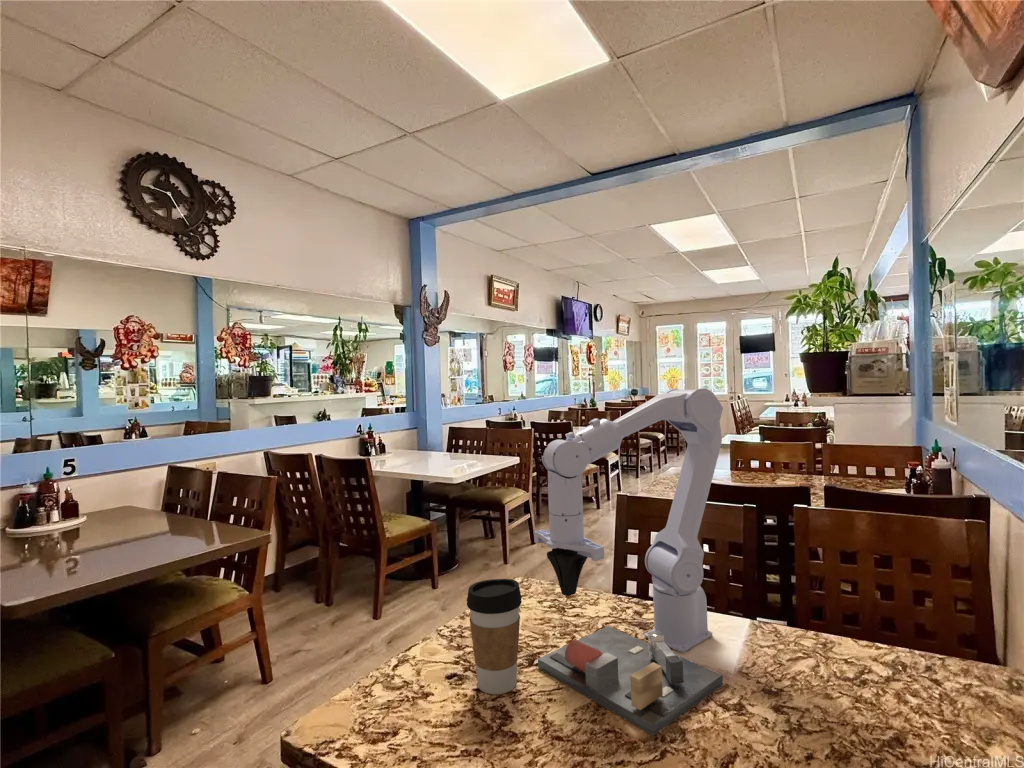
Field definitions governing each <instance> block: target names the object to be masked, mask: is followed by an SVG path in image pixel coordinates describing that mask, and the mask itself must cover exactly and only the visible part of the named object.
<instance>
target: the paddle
mask: <svg viewBox="0 0 1024 768" xmlns="http://www.w3.org/2000/svg"><path fill="white" fill-rule="evenodd" d="M630 679H631V706H633V707H635V708H637V709H639V710H641V709H643V708H644V707H646V706H647V705H649V704H650V703H652V702H653V701H655V700H656V699H658V698H659V697H661V696H663V689H662V666H660V665H658V664H656V663H654V662H653V663H651V664H649V665H648V666H646V667H644V668H642V669H641V670H639V671H637V672H635V673H634V674H632V675H630Z"/></svg>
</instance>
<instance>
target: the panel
mask: <svg viewBox="0 0 1024 768" xmlns="http://www.w3.org/2000/svg"><path fill="white" fill-rule="evenodd" d="M577 640H578V641H580V642H582V643H584V644H586V645H589V646H591V647H593V648H595V649H597V650H599V651H601V652H602V655H600V656H598V657H596V658H594V659H592V660H590V661H588V662H586V663H585V672H586V673H585V672H583V671H581V670H579V669H577V668H576V667H574V666H572V665H570V664H568V663H567V662H566V660H565V651H566V648H567V646H568V644H567V645H564V646H562V647H560V648H558V649H555V650H554V651H551V652H549V653H547V654H545V655H543V656H541V657H539V658H537V668H538V669H539V670H540V671H542V672H544V673H545V674H547V675H549V676H550V677H552V678H554V679H555V680H558V681H559V682H560V683H562V684H565V685H566V686H567V687H569V688H571V689H573V690H574V691H576V692H578V693H579V694H581V695H583V696H585V697H586V698H587V699H590V700H591V701H593V702H595V703H596V704H598V705H600V706H602V707H603V708H605V709H607V710H608V711H610V712H612V713H613V714H615V715H617V716H619V717H620V718H622V719H624V720H626V721H627V722H628V723H630V724H632V725H634V726H635V727H637V728H639V729H640V730H642V731H644V732H645V733H647V734H648V735H650V736H655V735H656V734H658V733H659V732H661V731H662V730H663V729H664V728H666V727H667V726H669V725H670V724H672V723H673V722H675V720H677V719H678V718H680V717H681V716H682V715H684V714H685V713H687V711H689V710H691V709H692V708H693V707H695V706H696V705H698V704H699V703H701V702H702V701H703V700H704V699H706V698H707V697H708V696H710V695H711V694H713V693H715V691H717V690H719V688H721V687H722V686H724V681H723V680H724V677H723V674H722V673H720V672H717V671H715V670H712V669H709V668H708V667H705V666H702V665H700V664H698V663H696V662H694V661H691V660H689V659H686V658H684V657H682V656H679V655H678V657H679V658H680V659H681V660H682V661H683V682H684V683H676V684H671V683H670V681H669V680H668V679H667V677H666V673H665V672H664V671H663V669H662V689H663V696H661V697H659V698H658V699H656V700H655V701H653V702H652V703H650V704H649V705H647V706H646V707H644V708H643V709H641V710H639V709H637V708H635V707H633V706H631V679H630V675H632V674H634V673H635V672H637V671H639V670H641V669H642V668H644V667H646V666H648V665H649V664H651V663H653V662H654V663H656V664H658V663H657V661H655V660H652V659H650V658H649V643H648V641H644V640H642V639H640V638H638V637H635V636H633V635H630V634H628V633H625V632H624V631H621V630H620V629H616V628H614V627H612V626H609V625H607V626H604V627H603V628H601V629H599V630H596V631H594V632H592V633H590V634H588V635H586V636H584V637H582V638H579V639H577ZM658 665H659V664H658Z"/></svg>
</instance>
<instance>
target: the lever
mask: <svg viewBox="0 0 1024 768" xmlns="http://www.w3.org/2000/svg"><path fill="white" fill-rule="evenodd" d="M648 632H649V631H648ZM647 639H648V641H647V643H649V658H650V659H652V660H655V661H657V663H658V664H659V665H660V666H662V669H663V671H664V672H665V673H666V677H667V679H668V680H669V681H670V683H671V684H676V683H684V682H683V661H682V660H681V659H680V658H679V657H678V656H679V655H678V654H675V653H674V652H673V650H672V648H670V647H668V646H667V645H666V643H665V642H664V634H663V633H662V632H659V631H651V632H649V633H648V638H647Z"/></svg>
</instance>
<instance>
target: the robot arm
mask: <svg viewBox="0 0 1024 768" xmlns="http://www.w3.org/2000/svg"><path fill="white" fill-rule="evenodd" d="M723 410H724V407H723V406H722V404H721V402H720V401H719V398H718V397H717V396H716V395H715V393H714V392H712V391H711V390H710V389H707V388H696V389H678V388H672V389H669V390H667V391H665V392H663V393H660V394H657V395H655V396H654V397H652V398H651V399H648V400H647V401H645V402H644V403H642V404H640V405H639V406H637V407H634V408H633V409H632V410H630V411H628V412H626V413H625V414H623V415H622V416H619V417H618V418H616V419H614V420H613V421H612V420H609V419H606V418H601V419H599V418H593V419H591V420H589V425H587V426H585V427H583V428H581V429H579V430H578V431H576V432H572V431H570V432H568V433H566V439H554V440H552V441H551V442H549V443H548V444H547V447H546V448H545V449H544V451H543V455H541V462H542V464H543V466H544V467H545V469H546V470H547V492H548V493H547V497H548V498H547V499H548V518H549V519H548V522H549V523H548V524H549V530H546V529H539V530H535V531H534V532H533V533H534V534H533V536H534V537H533V539H534V540H533V541H534V543H535V544H545V545H546V547H547V548H550V549H551V550H550V551H547V552H546V557H547V559H548V561H549V562H550V564H551V565H552V567H553V570H554V572H555V576H556V578H557V581H558V584H559V585H558V586H559V588H560V592H561V595H563V596H565V597H570V596H573V595H575V594H577V589H578V584H579V579H580V575H581V572H582V570H583V567H584V565H585V563H586V562H587V560H588V558H590V559H591V561H594V562H598V561H601V560H603V559H605V546H603V545H600V544H598V543H595V542H594V541H592V540H590V539H589V538H587V537H585V526H584V525H585V522H584V503H583V496H584V495H583V477H582V474H583V473H584V472H585V470H586V469H587V466H588V465H590V464H592V463H594V462H596V461H597V460H599V459H601V458H603V457H606V456H607V455H609V454H611V453H612V452H614V451H616V450H618V449H620V447H621V444H622V441H623V440H624V438H626V437H628V436H630V435H632V434H635V433H636V432H639V431H641V430H643V429H644V428H648V427H650V426H651V425H653V424H655V423H658V422H660V421H667V422H668V423H669V424H670V425H672V427H674V428H675V429H676V430H677V431H679V432H680V434H681V436H682V437H683V439H684V440H685V442H686V444H687V446H686V451H685V453H684V457H683V461H682V465H681V469H680V473H679V476H678V479H677V483H676V484H677V485H676V487H675V492H674V495H673V498H672V503H671V507H670V510H669V513H668V518H667V522H666V525H665V527H664V528H663V529H661V530H660V531H659V532H657V533H656V534H655V536H654V540H653V541H652V545H651V546H649V548H647V551H646V553H645V557H644V564H645V568H646V570H647V572H648V573H649V574H651V581H652V598H653V602H652V603H653V625H654V628H653V629H651V630H650V629H649V631H647V632H645V633H643V635H644V637H645V638H646V639H648V633H649V632H651V631H659V632H662V633H663V634H664V642H665V643H666V645H667V646H668V647H669V648H670V649H671V650H672V649H673V650H675V651H678V652H680V653H685V652H687V651H688V650H689V649H691V648H693V647H695V646H697V645H698V644H700V643H702V642H704V641H705V640H707V639H708V638H711V636H713V632H712V631H711V630H709V628H708V627H709V626H708V610H707V609H708V606H707V602H708V601H707V595H706V593H705V591H704V589H703V587H702V586H701V584H702V583H703V580H704V579H703V578H704V574H705V573H704V568H703V567H704V566H703V561H704V555H705V552H704V550H703V548H702V546H701V543H700V542H699V540H698V539H699V538H698V536H699V532H700V528H701V524H702V519H703V516H704V512H705V509H706V505H707V501H708V498H709V495H710V494H709V493H710V490H711V489H710V488H711V484H712V482H713V478H714V474H715V471H716V468H717V467H716V466H717V462H718V459H719V455H720V451H721V447H722V442H723V441H722V439H723V437H722V430H721V417H722V413H723Z"/></svg>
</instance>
